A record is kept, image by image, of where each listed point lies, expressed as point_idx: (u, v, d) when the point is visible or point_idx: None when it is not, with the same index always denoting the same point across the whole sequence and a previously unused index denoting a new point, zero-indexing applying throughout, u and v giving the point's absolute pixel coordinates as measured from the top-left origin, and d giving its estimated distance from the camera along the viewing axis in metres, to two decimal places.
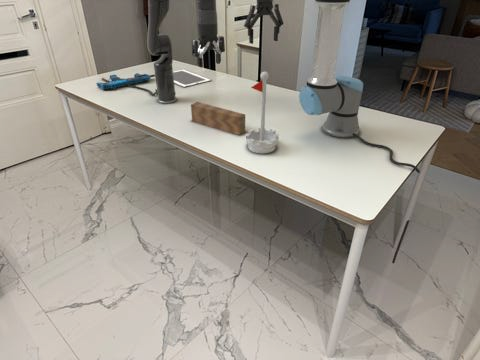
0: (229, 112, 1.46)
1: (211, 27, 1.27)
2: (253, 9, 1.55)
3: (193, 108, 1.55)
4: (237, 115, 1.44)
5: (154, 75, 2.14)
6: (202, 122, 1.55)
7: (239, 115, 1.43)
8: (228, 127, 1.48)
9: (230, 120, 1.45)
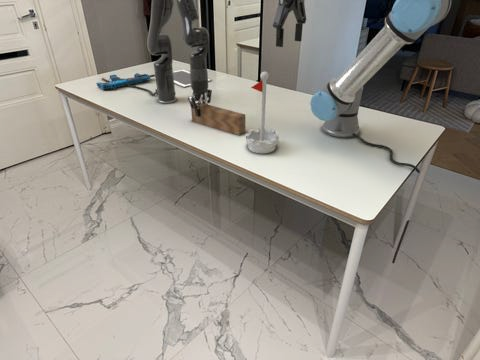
0: (229, 112, 1.46)
1: (204, 82, 1.46)
2: (284, 3, 1.22)
3: None
4: (237, 115, 1.44)
5: (154, 75, 2.14)
6: (202, 122, 1.55)
7: (239, 115, 1.43)
8: (228, 127, 1.48)
9: (230, 120, 1.45)
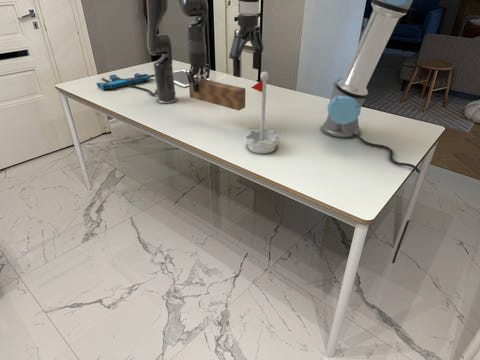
0: (228, 86, 1.40)
1: (203, 55, 1.40)
2: (240, 36, 1.23)
3: (191, 83, 1.49)
4: (237, 89, 1.38)
5: (154, 75, 2.14)
6: (200, 98, 1.50)
7: (239, 89, 1.38)
8: (227, 102, 1.42)
9: (229, 94, 1.39)
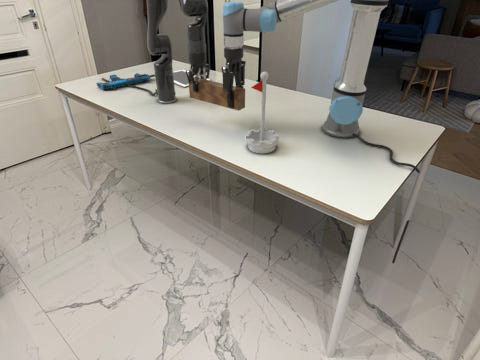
0: None
1: (203, 55, 1.40)
2: (227, 71, 1.30)
3: (191, 83, 1.49)
4: (237, 89, 1.38)
5: (154, 75, 2.14)
6: (200, 98, 1.49)
7: (239, 89, 1.38)
8: (227, 102, 1.42)
9: None
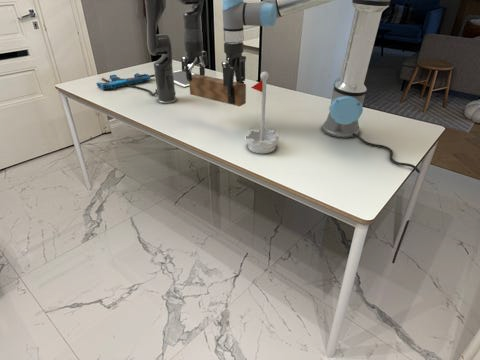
0: None
1: (199, 44, 1.38)
2: (228, 67, 1.29)
3: None
4: (237, 84, 1.37)
5: (154, 75, 2.14)
6: (200, 95, 1.48)
7: (239, 85, 1.36)
8: None
9: None
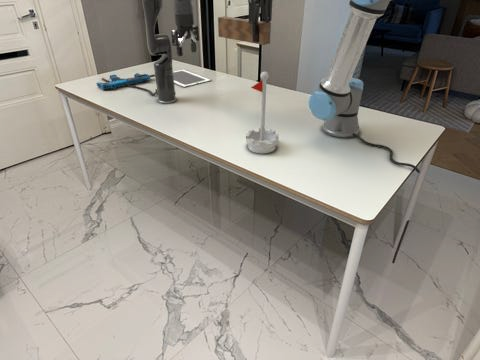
0: None
1: (189, 16, 1.35)
2: (253, 1, 1.33)
3: (220, 21, 1.53)
4: (262, 22, 1.40)
5: (154, 75, 2.14)
6: (228, 36, 1.53)
7: (264, 23, 1.40)
8: (252, 37, 1.44)
9: None
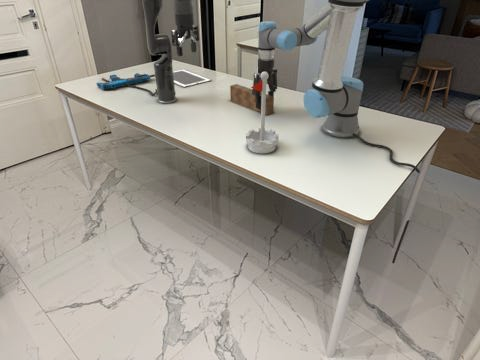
0: (260, 94, 1.66)
1: (189, 16, 1.35)
2: (258, 78, 1.55)
3: (232, 89, 1.77)
4: (266, 96, 1.63)
5: (154, 75, 2.14)
6: (238, 102, 1.77)
7: (268, 97, 1.62)
8: None
9: None
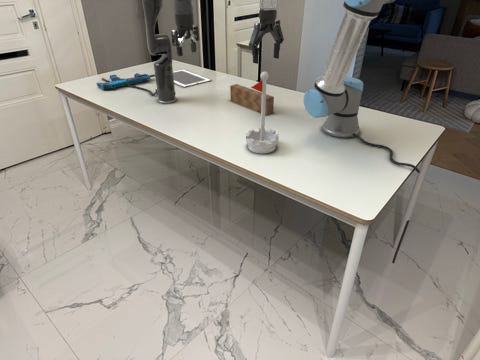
0: (260, 94, 1.66)
1: (189, 16, 1.35)
2: (258, 27, 1.43)
3: (232, 89, 1.77)
4: (266, 96, 1.63)
5: (154, 75, 2.14)
6: (238, 102, 1.77)
7: (268, 97, 1.62)
8: (258, 107, 1.67)
9: (260, 100, 1.65)
